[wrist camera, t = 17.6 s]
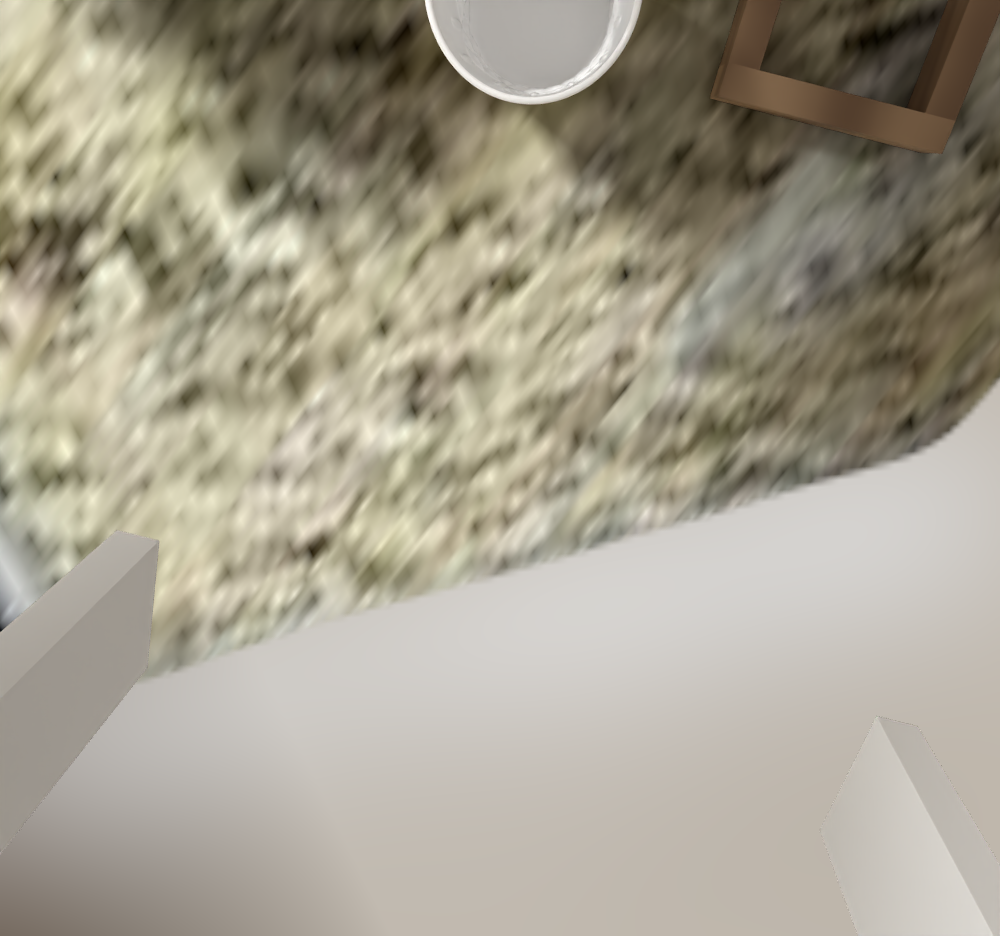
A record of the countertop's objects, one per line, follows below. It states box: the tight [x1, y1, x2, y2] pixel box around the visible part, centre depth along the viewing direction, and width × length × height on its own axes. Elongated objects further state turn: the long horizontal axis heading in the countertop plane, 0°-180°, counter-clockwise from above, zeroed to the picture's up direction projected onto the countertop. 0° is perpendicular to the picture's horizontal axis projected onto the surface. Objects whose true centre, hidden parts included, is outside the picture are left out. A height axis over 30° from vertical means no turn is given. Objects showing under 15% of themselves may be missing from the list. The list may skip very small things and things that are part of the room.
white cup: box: [425, 0, 642, 104], centre depth 35 cm, size 8×8×10 cm
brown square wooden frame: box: [710, 0, 1000, 154], centre depth 37 cm, size 10×10×2 cm
